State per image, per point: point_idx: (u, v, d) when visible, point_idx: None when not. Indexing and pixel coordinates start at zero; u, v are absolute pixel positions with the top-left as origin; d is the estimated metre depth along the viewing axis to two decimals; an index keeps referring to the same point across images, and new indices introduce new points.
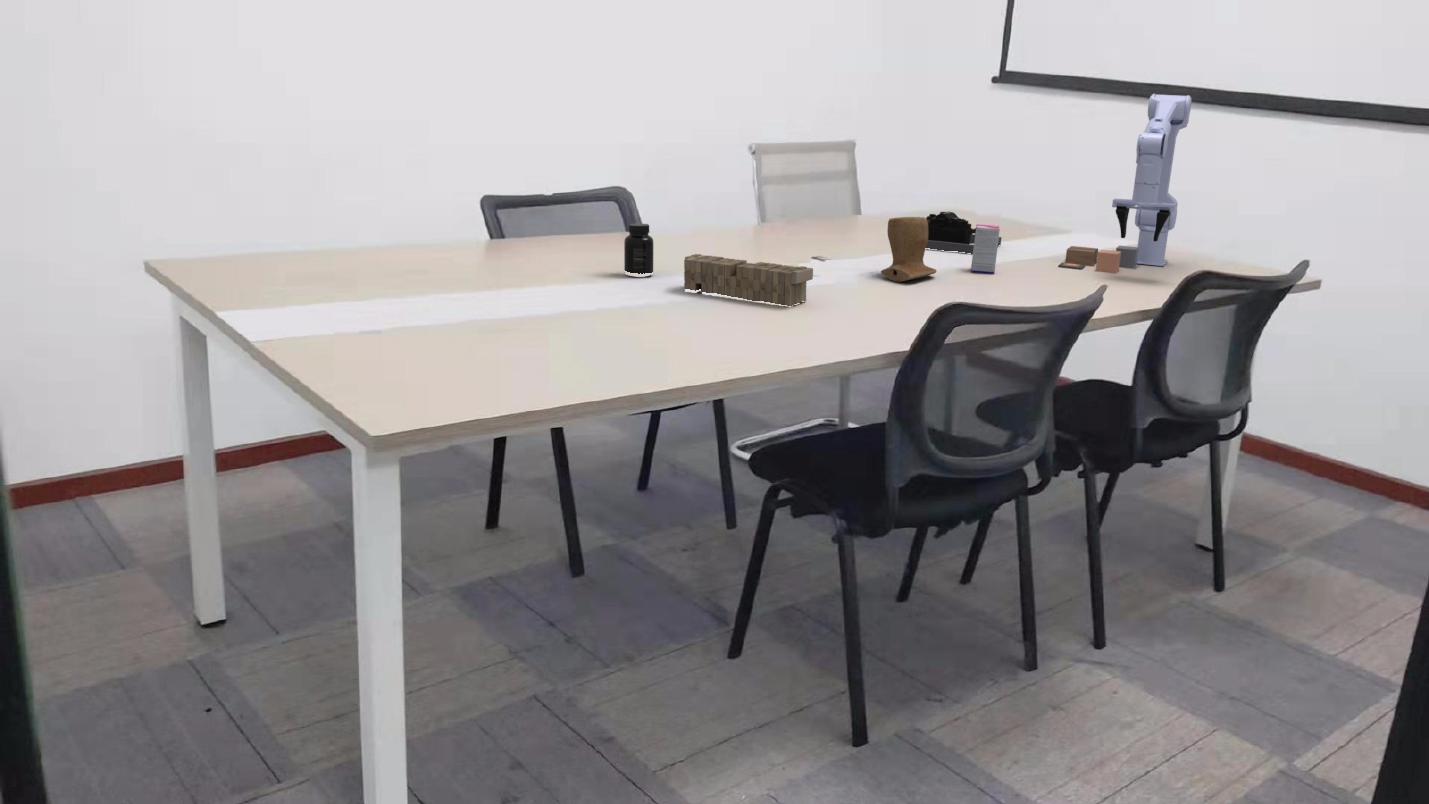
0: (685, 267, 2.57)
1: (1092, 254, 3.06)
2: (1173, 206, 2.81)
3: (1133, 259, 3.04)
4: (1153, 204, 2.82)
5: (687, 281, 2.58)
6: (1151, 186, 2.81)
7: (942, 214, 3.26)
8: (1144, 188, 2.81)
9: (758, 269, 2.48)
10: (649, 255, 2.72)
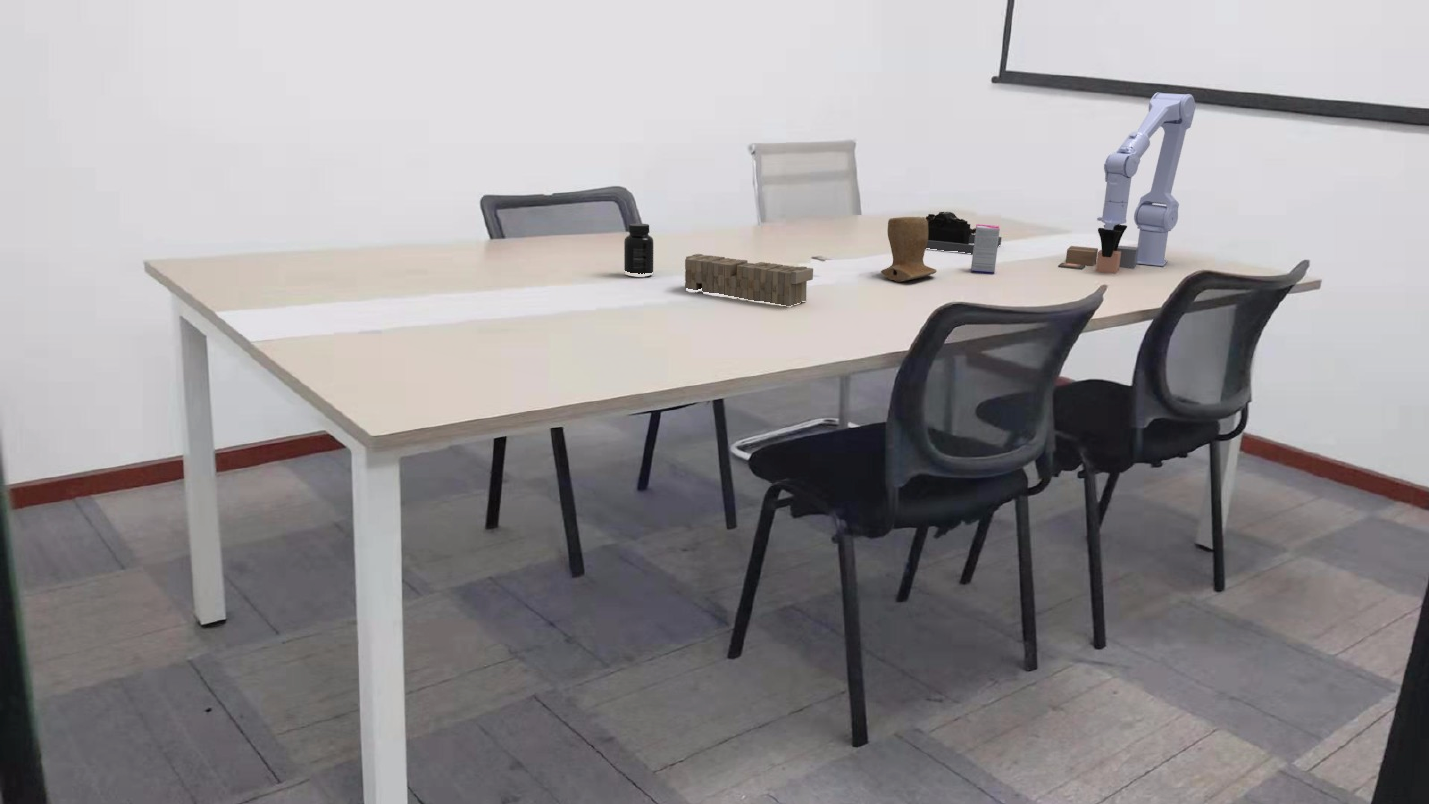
0: (686, 267, 2.57)
1: (1093, 254, 3.06)
2: (1105, 223, 2.91)
3: (1133, 259, 3.04)
4: (1102, 220, 2.96)
5: (688, 281, 2.58)
6: (1105, 202, 2.95)
7: (941, 214, 3.26)
8: None
9: (758, 269, 2.48)
10: (649, 255, 2.72)
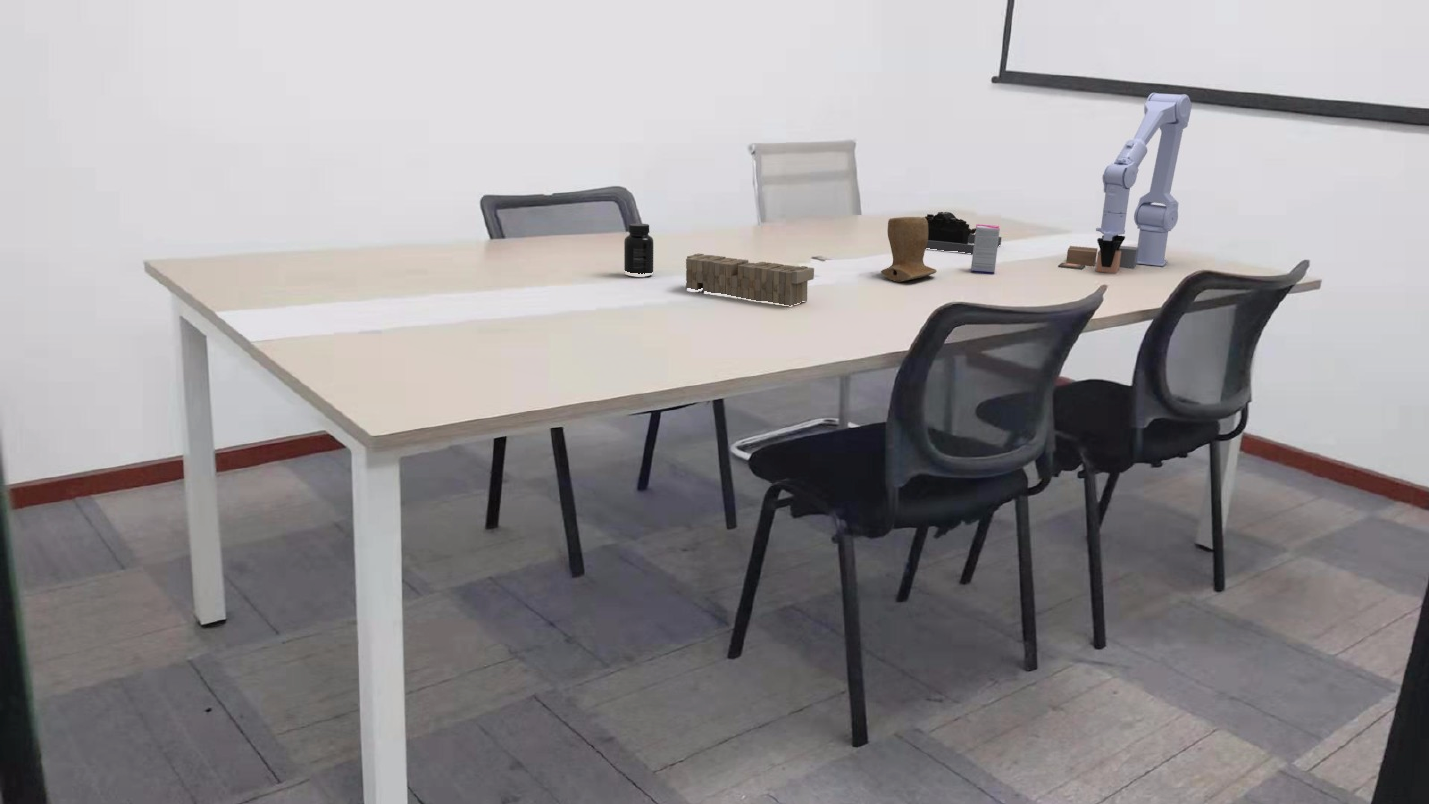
0: (687, 266, 2.58)
1: (1093, 254, 3.06)
2: None
3: (1133, 259, 3.04)
4: (1101, 230, 2.96)
5: (689, 280, 2.58)
6: (1104, 213, 2.96)
7: (940, 214, 3.25)
8: None
9: (759, 269, 2.48)
10: (649, 255, 2.72)
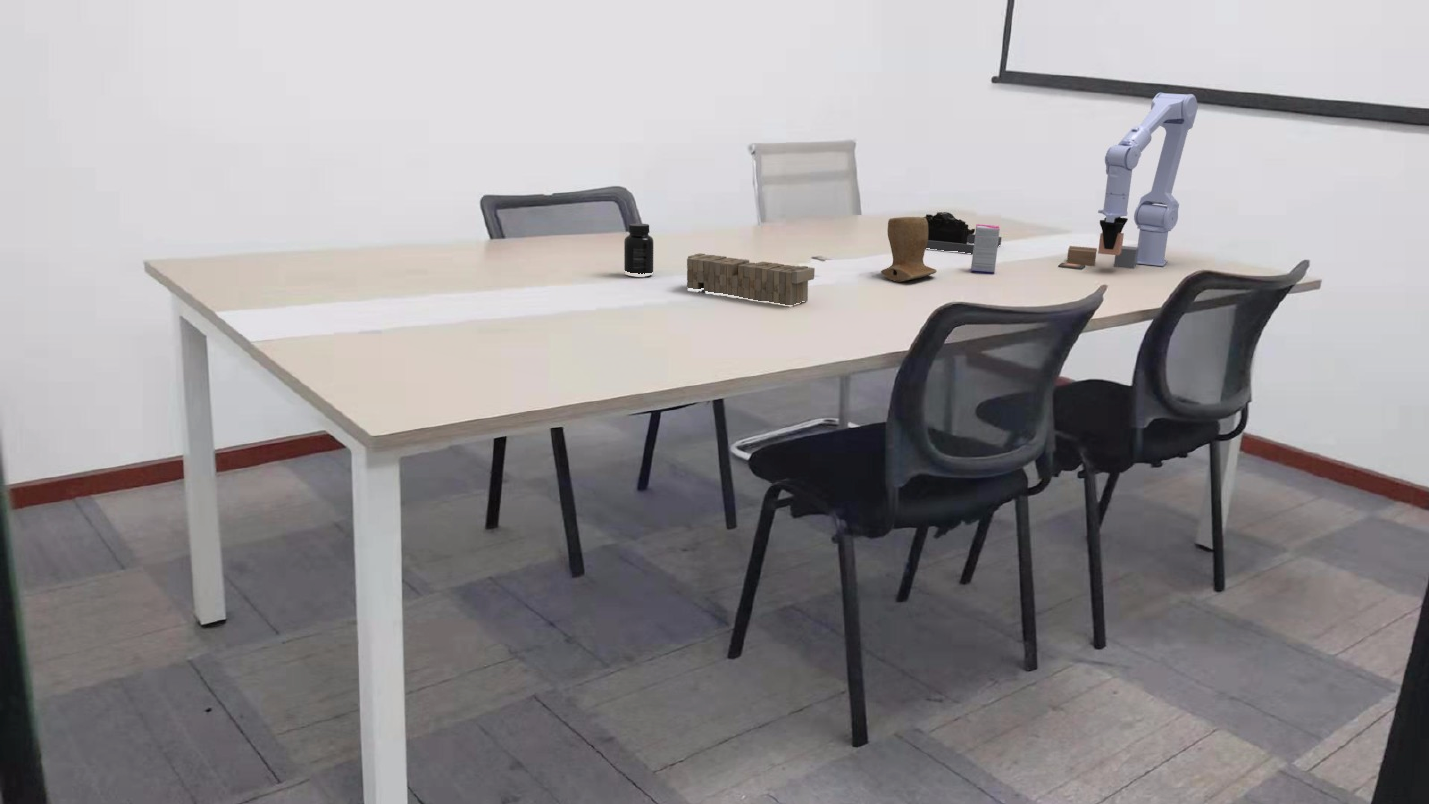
0: (688, 266, 2.58)
1: (1094, 254, 3.06)
2: (1106, 215, 2.91)
3: (1133, 259, 3.04)
4: (1103, 212, 2.95)
5: (690, 280, 2.59)
6: (1106, 195, 2.95)
7: (939, 215, 3.25)
8: None
9: (759, 268, 2.49)
10: (649, 255, 2.72)
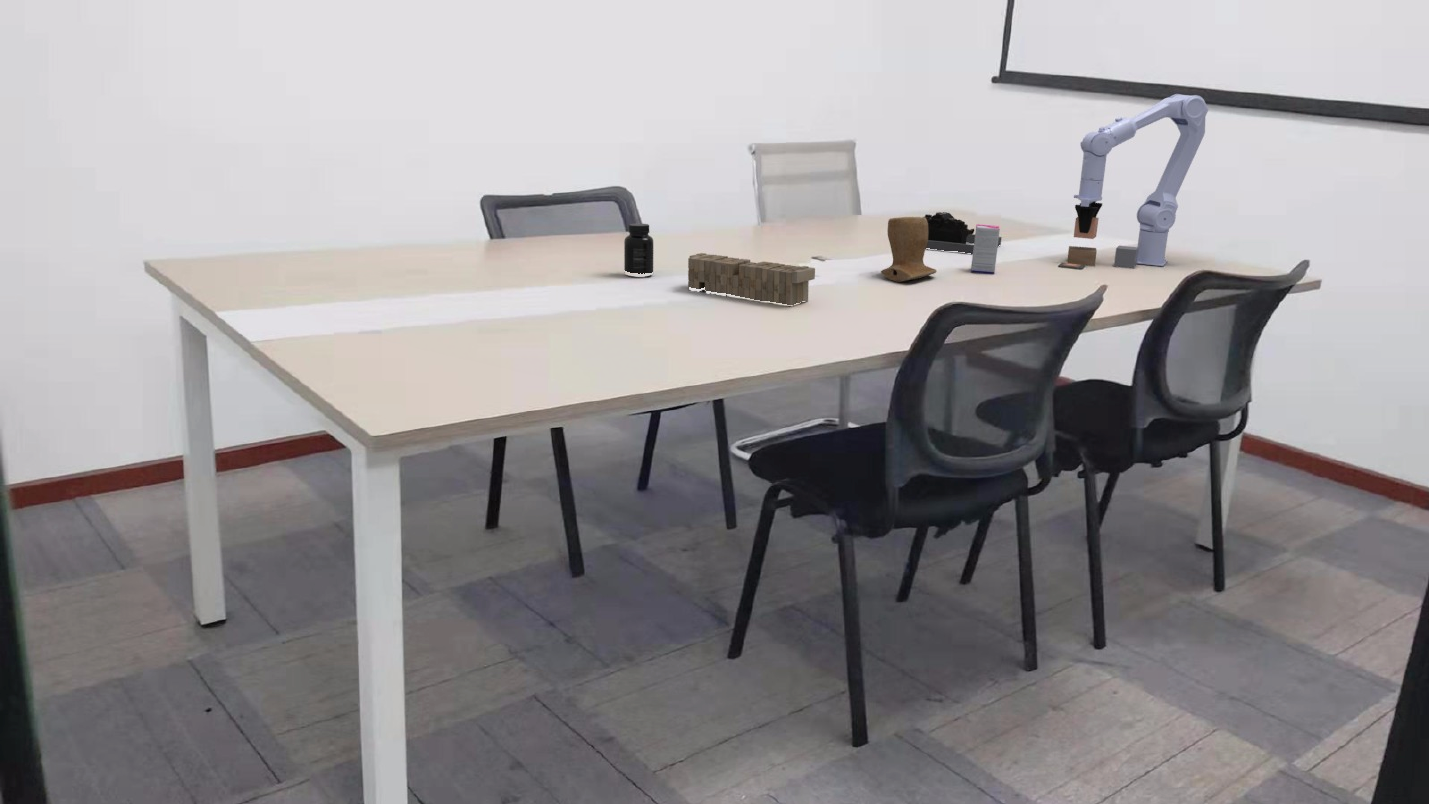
0: (689, 266, 2.59)
1: (1094, 254, 3.06)
2: (1081, 200, 3.00)
3: (1133, 259, 3.04)
4: (1079, 197, 3.04)
5: (691, 280, 2.59)
6: (1081, 180, 3.04)
7: (938, 215, 3.24)
8: (1080, 182, 3.06)
9: (760, 268, 2.49)
10: (649, 255, 2.72)
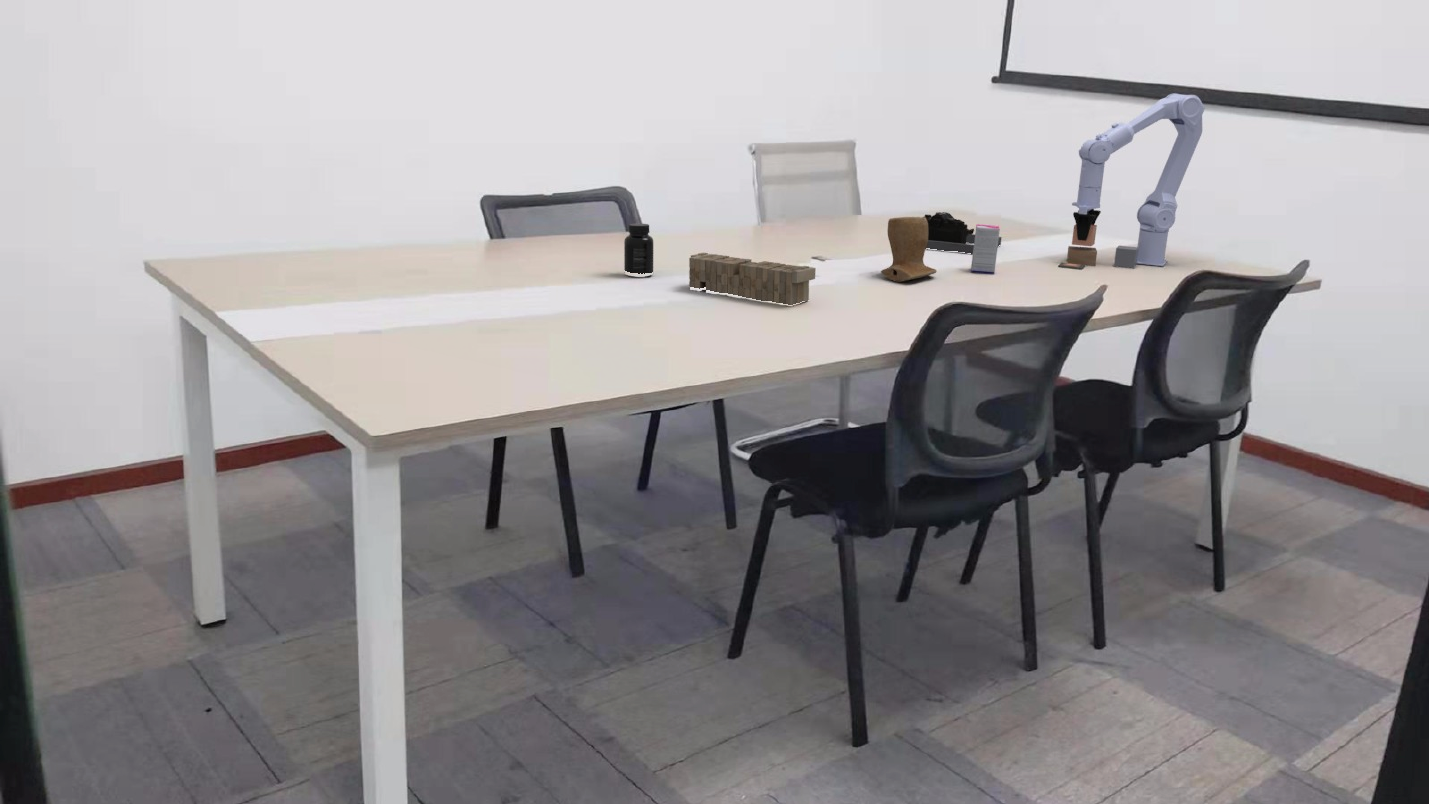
0: (690, 265, 2.59)
1: (1095, 254, 3.06)
2: (1079, 208, 3.01)
3: (1133, 259, 3.04)
4: (1077, 205, 3.05)
5: (692, 279, 2.60)
6: (1079, 188, 3.05)
7: (938, 215, 3.24)
8: None
9: (760, 268, 2.49)
10: (649, 255, 2.72)
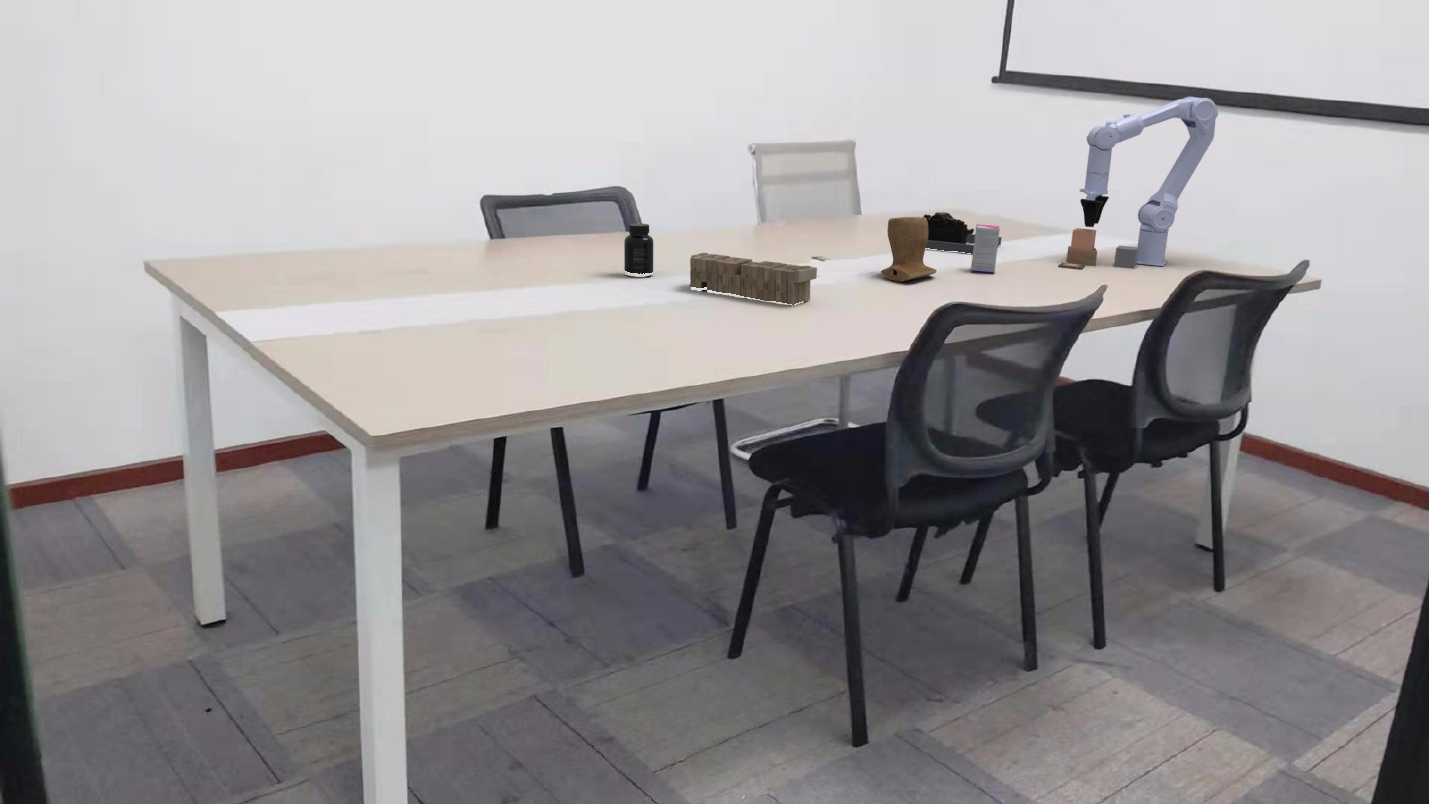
0: (691, 265, 2.59)
1: (1095, 254, 3.06)
2: (1087, 194, 3.02)
3: (1133, 259, 3.04)
4: (1085, 191, 3.06)
5: (693, 279, 2.60)
6: (1087, 174, 3.06)
7: (937, 215, 3.24)
8: None
9: (762, 268, 2.49)
10: (649, 255, 2.72)
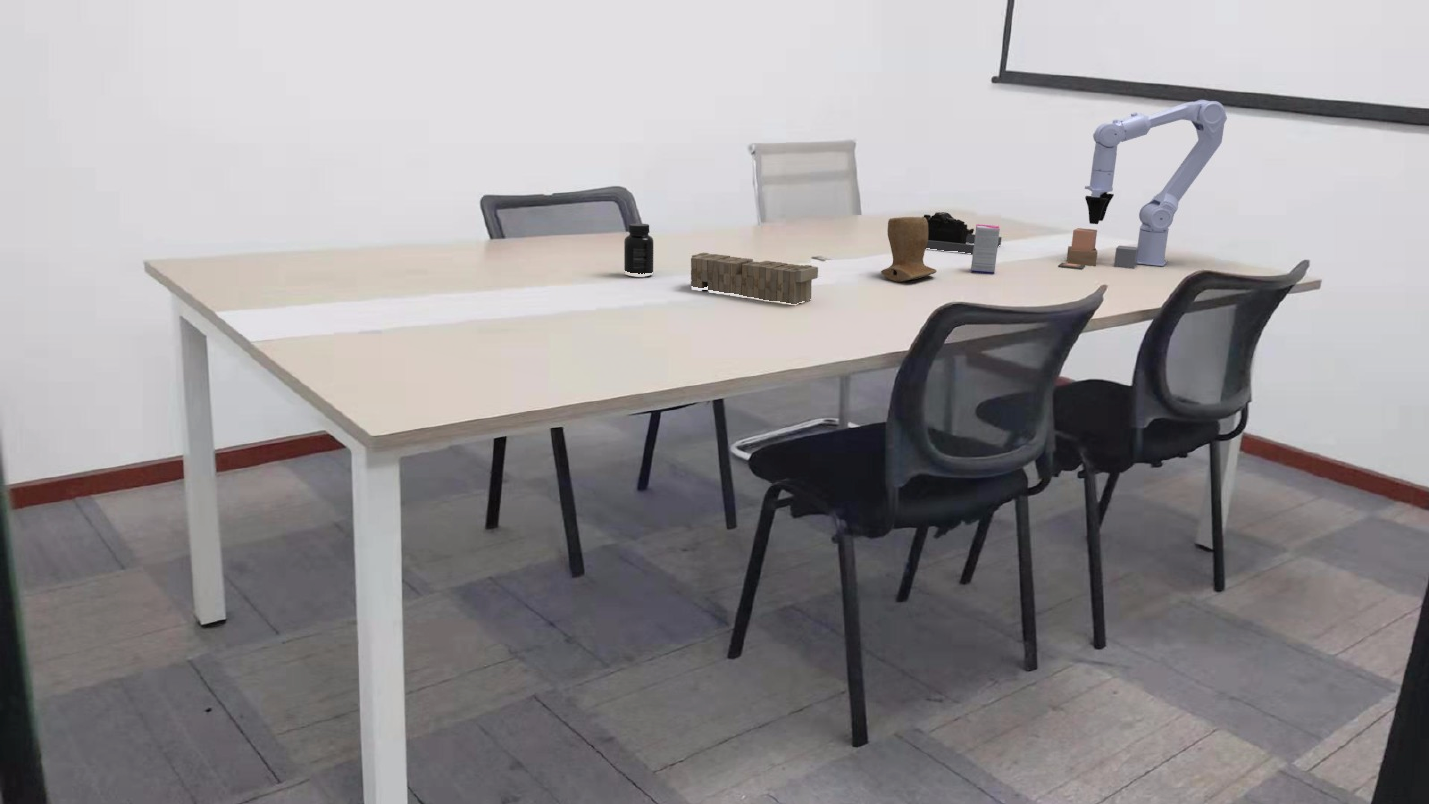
0: (692, 265, 2.59)
1: (1095, 254, 3.06)
2: (1092, 191, 3.03)
3: (1133, 259, 3.04)
4: (1090, 188, 3.08)
5: (694, 279, 2.60)
6: (1092, 171, 3.07)
7: (937, 215, 3.24)
8: (1091, 173, 3.09)
9: (763, 267, 2.50)
10: (649, 255, 2.72)
